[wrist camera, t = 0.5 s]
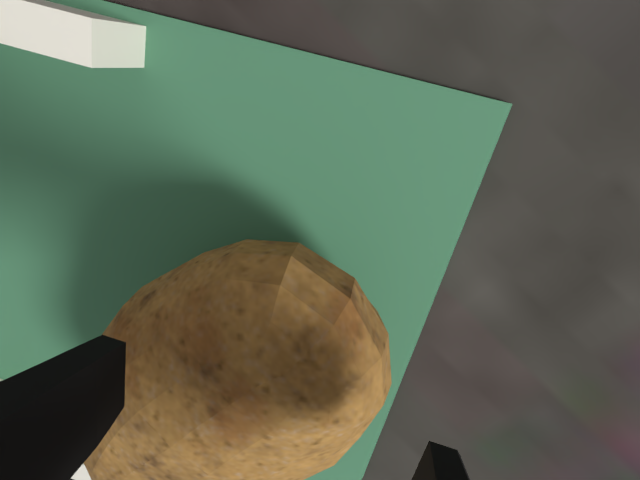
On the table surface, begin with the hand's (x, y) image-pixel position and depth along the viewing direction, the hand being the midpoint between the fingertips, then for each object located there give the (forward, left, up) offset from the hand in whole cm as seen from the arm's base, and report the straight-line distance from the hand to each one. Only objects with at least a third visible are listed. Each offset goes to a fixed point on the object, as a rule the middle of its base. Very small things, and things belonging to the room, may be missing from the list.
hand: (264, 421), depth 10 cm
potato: (-4, +2, -10) cm, 11 cm away
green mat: (-4, +8, -10) cm, 14 cm away
